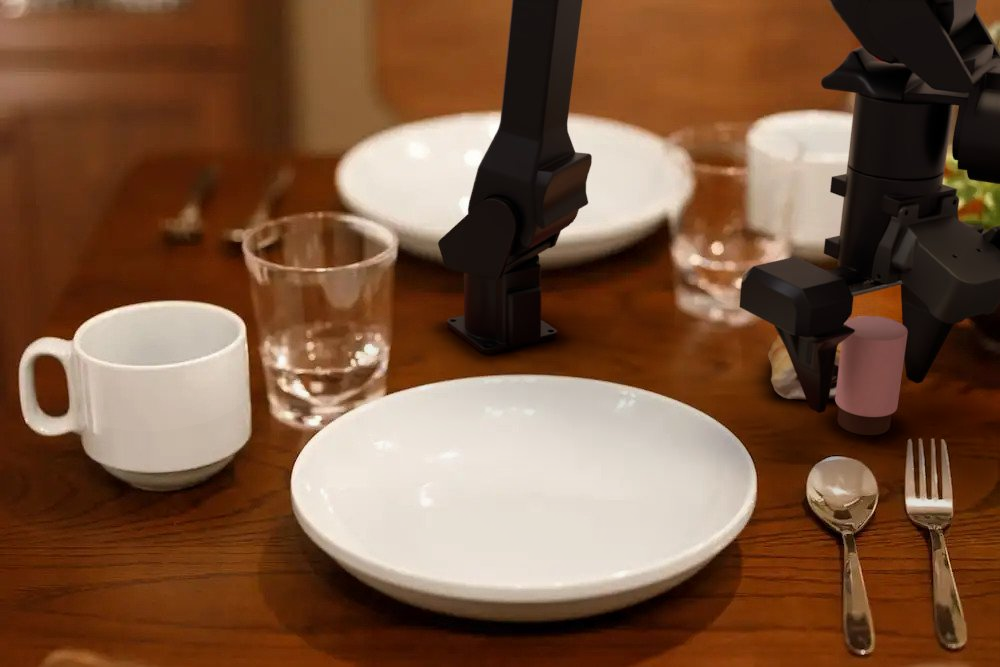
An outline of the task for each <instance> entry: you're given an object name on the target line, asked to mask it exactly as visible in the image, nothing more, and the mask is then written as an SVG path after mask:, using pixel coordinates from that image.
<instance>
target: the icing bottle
mask: <svg viewBox="0 0 1000 667" xmlns="http://www.w3.org/2000/svg"><path fill="white" fill-rule="evenodd" d="M844 324H845V325H847V326H849V327H851V328H853V329H855V332H854V333H853V334H851V335H850V336H849V337H847V338H846V339H845V340H843V341H842V344H841V353H840V361H839V370H838V379H837V387H836V396H835V398H834V401H835V403H836V405H837V407H838V411H837V419H836V420H837V423H838V425H839V426H840V427H841V428H842V429H844V430H845V431H846V432H850V433H852V434H856V435H861V436H878V435H883V434H885V433H886V432H888V431H889V430H890V428H891V422H892V416H893V414H894V413H895V412H896V411H897V410H898V407H899V406H898V405H899V398H900V391H901V386H902V385H901V382H902V377H903V369H904V364H905V362H904V356H905V348H906V341H907V334H908V331H907V328H906V327H905V326H904V325H903V324H902V322H900V321H898V320H894V319H892V318H889V317H884V316H878V315H877V316H876V315H860V316H854V317H850V318H848V319H847V321H846V322H845V323H844Z"/></svg>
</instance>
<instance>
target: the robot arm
mask: <svg viewBox="0 0 1000 667" xmlns="http://www.w3.org/2000/svg"><path fill="white" fill-rule="evenodd" d="M828 1H829V4H830V5H831V7H832V9H833V10H834V12H835V13H836V14H837V15H838V17H839V18H840V19H841V20H842V22H843V23H844V25H845V27H846V28H848V30H849V31H850V33H851V34H852V35H853V36H854V38H855V39H856V40H857V42H858V43H859V44H860V46H859V47H857V48H854V49H853V50H851V51H850V52H849V53H848V54H847V56H846V58H845V59H844V61H842V63H841V64H839V66H838V67H836V68H835V69H834V70H833V71H831V72H829V73H828V74H826V75H825V76H824V77H822V78H821V79H820V85H821V88H823V89H825V90H830V91H838V92H846V93H853V94H854V102H853V103H854V105H853V110H852V111H853V112H852V121H851V128H850V129H851V130H850V139H849V147H848V156H847V165H846V173H844V174H838V175H834V176H831V180H830V190H829V193H831V194H834V195H836V196H840V197H842V198H843V202H842V209H841V221H840V229H839V235H835V236H831V237H828V238H824V245H823V254H824V255H826V256H829V257H831V258H833V259H835V260H837V266H838V267H835V268H831V269H827V270H826V269H823V268H822V267H820V266H817V265H814V264H812V263H810V262H808V261H807V260H804V259H802V258H799V257H797V256H792V257H786V258H783V259H778V260H774V261H770V262H766V263H761V264H757V265H753V266H752V267H750V269H748V270H747V271H746V272H744V274H742V278H741V283H740V295H739V308H740V309H742V310H744V311H746V312H748V313H749V314H752V315H753V316H756V318H757V317H758V318H759V319H762V320H763V321H765V322H766V323H769V324H771V325H773V326H774V328H775V330H776V332H777V335H778V334H779V336H780V338H781V339H782V341H783V343H784V345H785V347H786V349H787V352H788V354H789V357H790V359H791V362H792V364H793V367H794V369H795V372H796V374H797V377H798V379H799V382H800V385H801V387H802V390H803V392H804V395H805V397H806V400H805V401H806V402H807V404H808V407H809V408H810V409H811V410H813V411H814V412H816V413H817V414H822V413H824V412H826V409H827V405H828V402H829V399H830V398H829V394H830V389H831V383H832V376H833V370H834V364H835V358H836V352H837V346H838V344H839V343H841V342H842V341H843V340H845V339H846V338H847V337H849V336H850V335H851V334H853V333H854V332H855V329H853V328H851V327H849V326H847V325H845V324H844V323H845V322H846V321H847V320H848V319H850V318H851V316H852V314H853V305H854V297H858V296H862V295H865V294H869V293H873V292H878V291H881V290H885V289H888V288H893V287H897V286H900V300H901V301H900V302H901V324H903V325H904V326H905V327H906V328H907V331H908V334H907V341H906V348H905V356H904V369H905V376H906V378H907V380H909V381H911V382H913V383H915V384H920V383H922V382H924V380H925V378H926V377H927V374H928V373H929V371H930V369H931V367H932V366H933V364H934V361H935V359H936V358H937V356H938V354H939V352H940V350H941V349H942V346H943V345H944V343H945V341H946V339H947V337H948V336H949V334H950V331H952V329H953V327H954V326H955V324H959V323H962V322H964V321H965V320H966V319H969V318H973V317H976V316H981V315H984V316H988V315H992V314H993V313H995V312H996V310H997V308H998V306H999V305H1000V225H996V226H994V227H992V228H990V229H989V230H987V229H985V228H984V227H983V226H982V225H981V224H978V225H974V224H970V223H967V222H966V221H962V220H960V219H959V206H960V198H959V196H958V195H957V191H958V188H955V187H952V186H949V185H946V184H943V183H944V177H945V168H946V161H947V154H948V147H949V141H950V134H951V125H952V121H953V120H952V119H953V112H954V106H958V110H957V116H956V120H955V125H954V129H953V135H952V142H951V154H952V159H953V160H954V161H957V170H962V171H966V175H967V178H968V179H969V181H976V182H983V183H989V184H996V185H1000V50H999V47H998V46H997V44H996V43H995V41H994V39H993V36H991V34H990V32H989V31H988V28H987V27H986V25H985V23H984V22H983V20H982V18H981V16H980V15H979V13H978V11H977V9H976V8H977V4H978V2H977V1H978V0H828ZM582 7H583V0H511V10H510V18H509V29H508V38H507V39H508V40H507V49H506V50H507V51H506V60H505V69H504V70H505V71H504V79H503V89H502V90H503V91H502V99H501V101H502V102H501V109H500V121H499V125H498V128H497V130H496V133H495V134H494V136H493V138H492V140H491V142H490V144H489V146H488V148H487V149H486V151H485V153H484V155H483V157H482V159H481V161H480V162H479V165H478V166H477V169H476V174H475V177H474V182H473V185H472V190H471V192H470V197H469V200H468V204H467V205H468V206H467V214H466V215H465V216H464V217H463V218H462V219H461V220H460V221H459V222H458V223H457V224H455V225H454V226H453V227H452V228H451V229H450V230H449V231H448V232H447V233H446V234H444V235H443V236H442V237H441V238H440V239H439V240H438V242H437V246H438V249H439V253H440V255H441V258H442V262H443V264H444V267H445V268H446V269H447V270H450V271H455V272H459V273H463V315H460V316H455V317H450V318H447V319H446V327H447V328H449V329H450V330H451V331H453V332H454V333H455V334H457V335H458V336H460V337H461V339H464V340H465V341H466V342H467V343H468V344H470V345H471V346H473V347H474V348H475V349H476V350H478V351H479V352H481V353H483V354H486V355H489V354H494V353H495V354H496V353H499V352H503V351H507V350H511V349H515V348H519V347H523V346H527V345H532V344H536V343H540V342H544V341H548V340H553V339H556V338H558V330H557V329H556V328H554V327H553V326H551V325H550V324H548V323H546V321H543V320H542V287H541V286H542V285H541V282H542V281H541V280H542V276H541V275H542V265H541V264H540V255H539V254H541V253H543V252H545V251H547V250H548V249H552V248H553V247H555V246H557V242H558V240H559V237H560V236H561V235H560V234H561V232H562V231H563V230H564V229H566V228H567V227H569V226H570V225H571V224H572V223H574V221H575V220H576V218H577V217H578V214H579V211H580V209H582V208H584V207H585V206H587V205H588V204H589V198H588V194H587V181H588V177H589V173H590V170H591V167H592V163H593V161H592V160H593V157H592V156H593V155H592V154H590V153H588V152H587V153H586V152H576V150H575V148H574V145H573V142H572V138H571V136H570V134H569V129H568V128H569V126H568V122H569V113H570V112H569V111H570V106H571V98H572V88H573V80H574V72H575V64H576V58H577V50H578V49H577V48H578V40H579V34H580V33H579V30H580V23H581V15H582Z"/></svg>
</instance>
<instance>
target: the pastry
mask: <svg viewBox="0 0 1000 667" xmlns="http://www.w3.org/2000/svg"><path fill="white" fill-rule="evenodd" d="M841 344H842V342H841V343H839V344H838V346H837V352H836V358H835V364H834V370H833V376H832V383H831V389H830V394H829V398H828V399H835V396H836V387H837V379H838V370H839V361H840V353H841ZM767 355H768V360H769V362H770V365H771V378H770V382H771V384H772V386H773V389H774V391H775V392H776V393H777V395H779V396H781V397H782V398H784V399H787V400H793V399H794V400H802V401H803V400H804V401H807V400H806V397H805V395H804V392H803V390H802V387H801V385H800V382H799V379H798V377H797V374H796V372H795V369H794V367H793V364H792V362H791V359H790V357H789V354H788V352H787V349H786V347H785V345H784V343H783V341H782V339H781V338H780V336H779V334H778V333H777V336H776V338H775V340H774V341H773V342H772V344H771V347H770V349H769V351H768V354H767Z"/></svg>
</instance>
